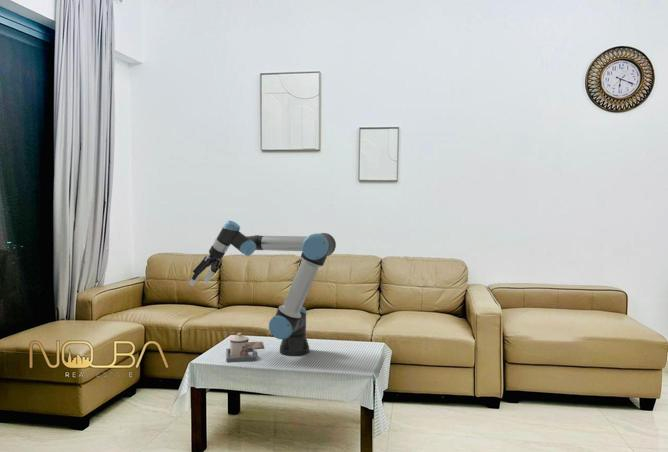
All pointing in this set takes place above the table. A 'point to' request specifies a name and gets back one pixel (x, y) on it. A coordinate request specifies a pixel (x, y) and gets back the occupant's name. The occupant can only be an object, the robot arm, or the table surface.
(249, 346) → the walnut coaster
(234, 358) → the holder tray
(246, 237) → the robot arm
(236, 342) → the teacup with lid
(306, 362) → the table surface
